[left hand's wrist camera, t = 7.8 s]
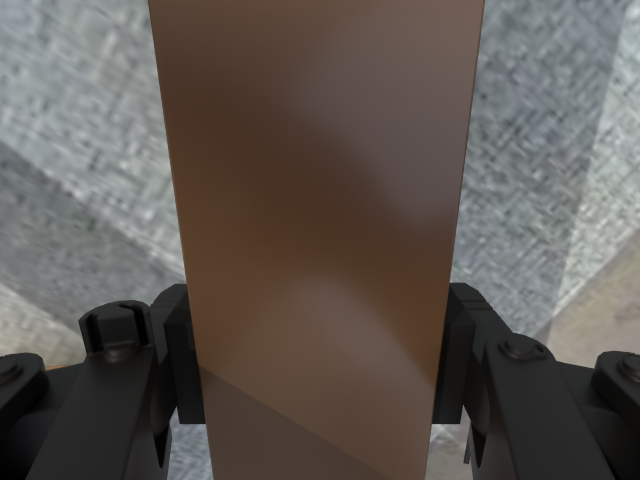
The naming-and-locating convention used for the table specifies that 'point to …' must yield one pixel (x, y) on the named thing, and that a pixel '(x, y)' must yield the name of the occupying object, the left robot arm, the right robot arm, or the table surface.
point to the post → (317, 221)
